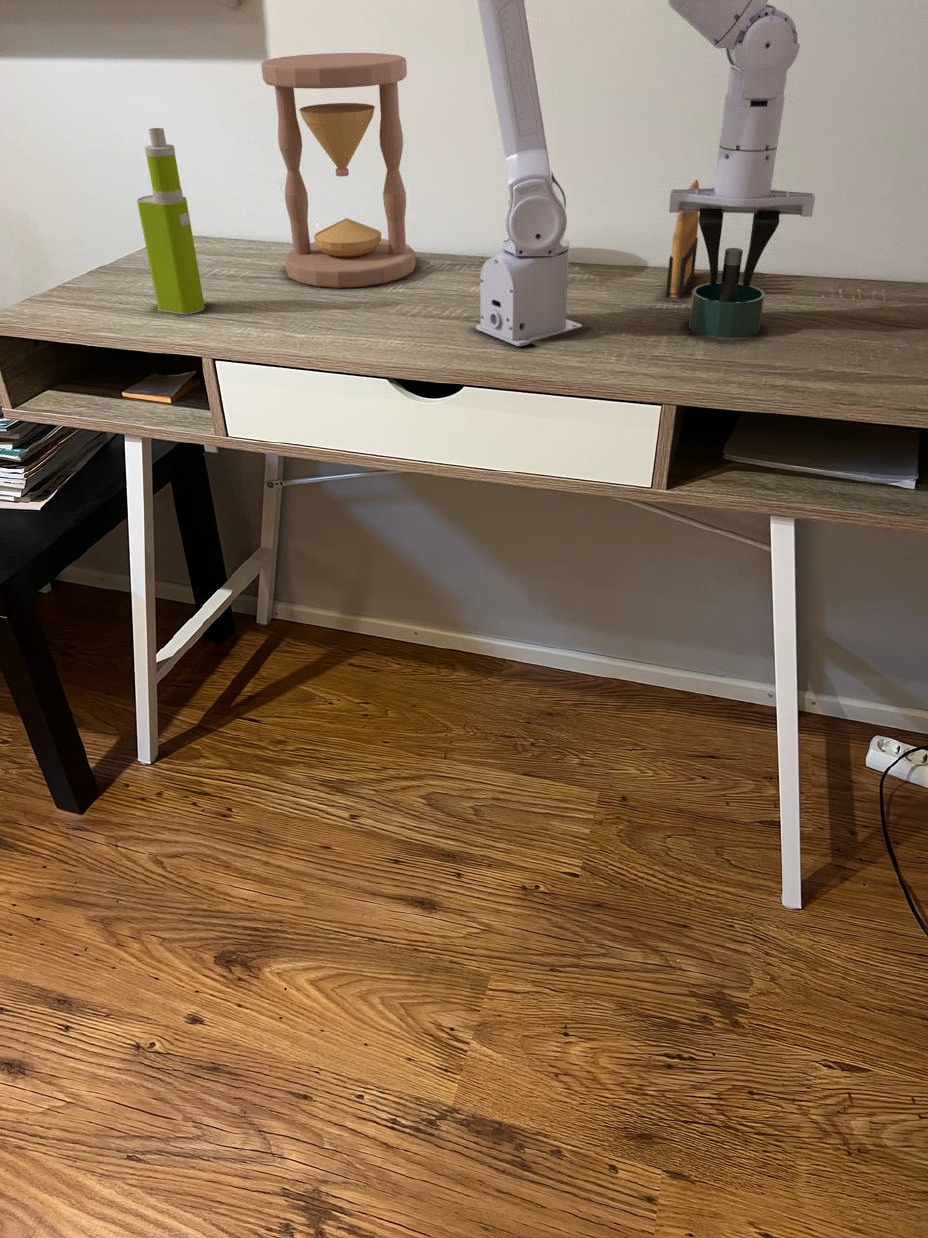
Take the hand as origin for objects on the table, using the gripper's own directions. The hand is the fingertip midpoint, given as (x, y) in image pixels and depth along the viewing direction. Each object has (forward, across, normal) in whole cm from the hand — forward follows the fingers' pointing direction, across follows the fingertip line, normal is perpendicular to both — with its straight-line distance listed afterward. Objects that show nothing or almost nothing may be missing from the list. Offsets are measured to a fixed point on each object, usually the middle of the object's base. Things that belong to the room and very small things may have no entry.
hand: (729, 282), depth 106 cm
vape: (+5, +65, +3) cm, 65 cm away
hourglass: (+5, +50, -17) cm, 53 cm away
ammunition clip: (+5, +6, -15) cm, 17 cm away
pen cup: (+5, 0, 0) cm, 5 cm away
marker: (+5, 0, 0) cm, 5 cm away
